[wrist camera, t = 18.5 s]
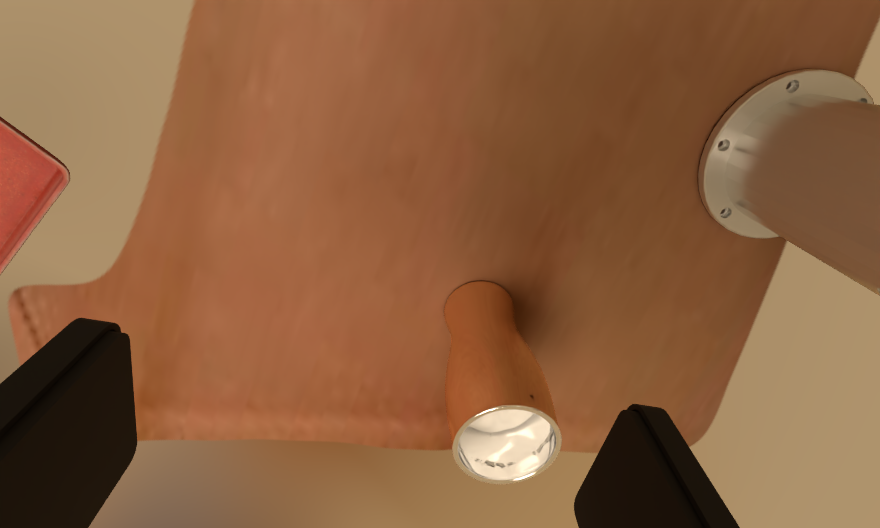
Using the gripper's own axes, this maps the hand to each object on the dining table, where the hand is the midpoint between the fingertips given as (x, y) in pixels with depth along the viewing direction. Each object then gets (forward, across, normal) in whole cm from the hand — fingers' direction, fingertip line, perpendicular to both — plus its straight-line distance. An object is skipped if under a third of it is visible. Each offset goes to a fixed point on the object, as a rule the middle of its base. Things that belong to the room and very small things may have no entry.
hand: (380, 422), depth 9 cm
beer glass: (+28, -9, +14) cm, 33 cm away
